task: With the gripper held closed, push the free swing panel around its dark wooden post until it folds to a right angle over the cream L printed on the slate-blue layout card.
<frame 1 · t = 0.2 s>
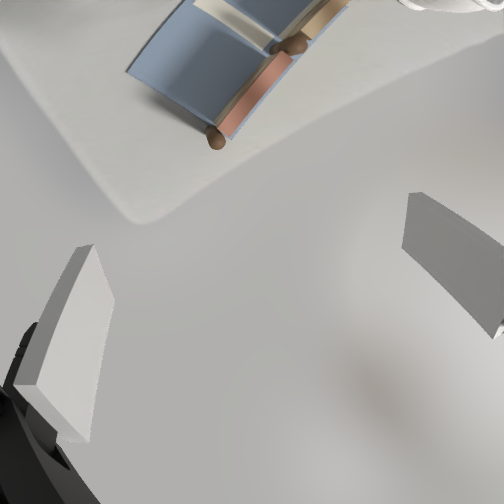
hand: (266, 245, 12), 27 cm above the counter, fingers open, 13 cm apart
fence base: (277, 51, 31), resting on layout card
swing panel: (244, 98, 30), point 4 cm above the counter, hinge at 0.0°
layout card: (277, 51, 31), on the counter
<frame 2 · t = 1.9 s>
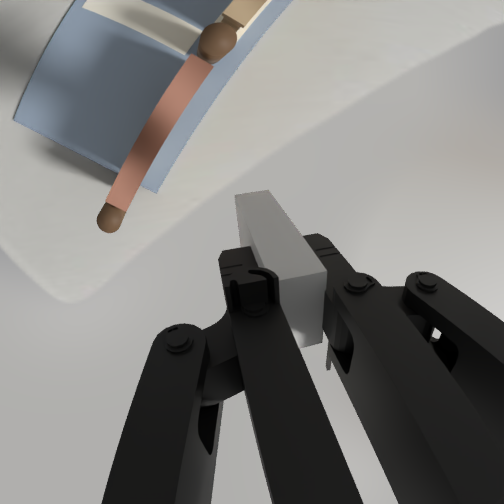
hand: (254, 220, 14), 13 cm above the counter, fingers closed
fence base: (209, 52, 20), resting on layout card
swing panel: (152, 138, 19), point 4 cm above the counter, hinge at 0.0°
layout card: (209, 52, 20), on the counter
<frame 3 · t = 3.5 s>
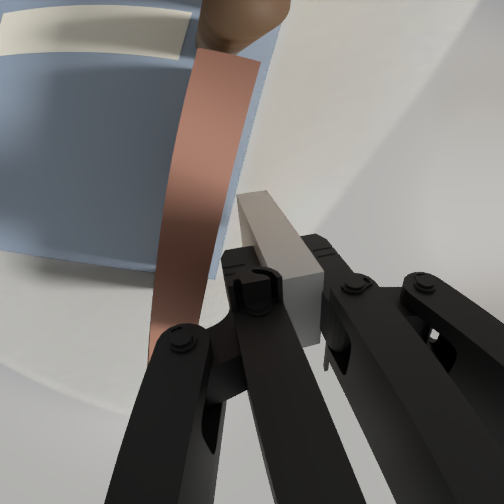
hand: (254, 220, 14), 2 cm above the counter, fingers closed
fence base: (217, 42, 12), resting on layout card
swing panel: (181, 226, 11), point 4 cm above the counter, hinge at -0.1°, touching gripper
layout card: (217, 42, 12), on the counter
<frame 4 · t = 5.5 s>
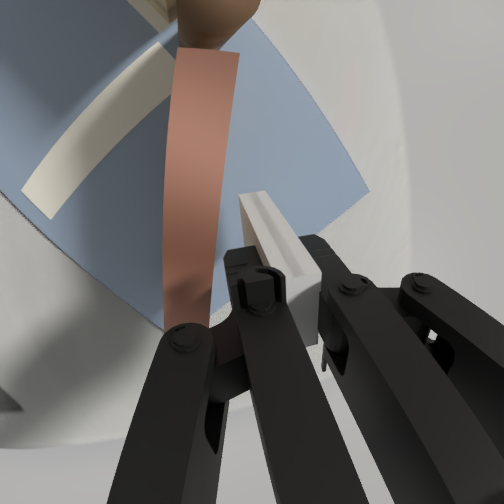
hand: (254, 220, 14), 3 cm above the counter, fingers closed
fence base: (200, 40, 12), resting on layout card
swing panel: (185, 220, 12), point 4 cm above the counter, hinge at -45.7°, touching gripper
layout card: (200, 40, 12), on the counter
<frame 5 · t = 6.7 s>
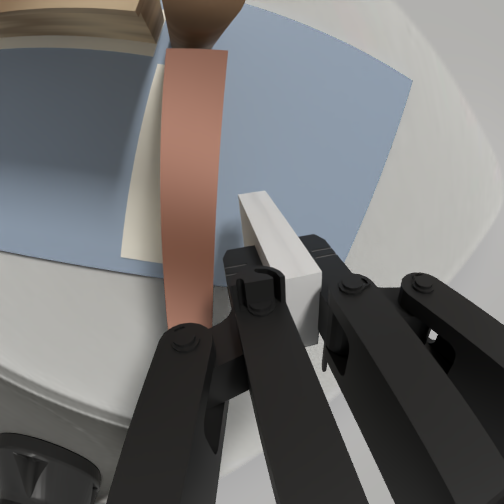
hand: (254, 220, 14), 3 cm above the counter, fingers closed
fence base: (192, 40, 12), resting on layout card
swing panel: (185, 219, 12), point 4 cm above the counter, hinge at -78.6°, touching gripper
layout card: (192, 40, 12), on the counter
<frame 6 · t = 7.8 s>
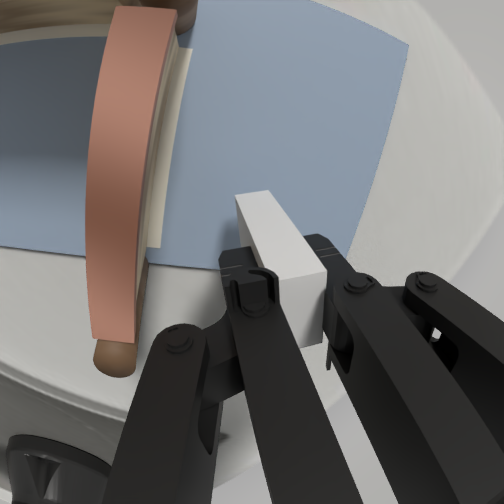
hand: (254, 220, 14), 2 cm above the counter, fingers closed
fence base: (174, 18, 11), resting on layout card
swing panel: (129, 193, 11), point 4 cm above the counter, hinge at -90.6°
layout card: (174, 18, 11), on the counter
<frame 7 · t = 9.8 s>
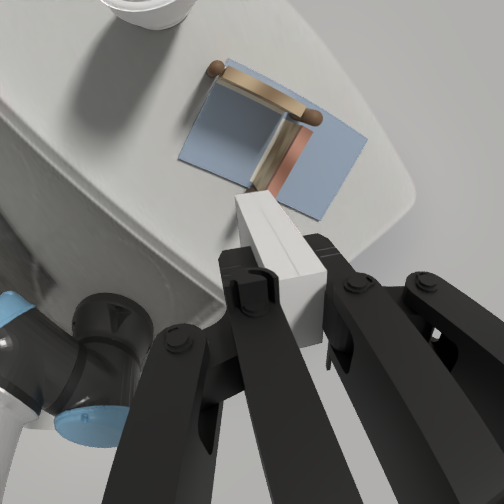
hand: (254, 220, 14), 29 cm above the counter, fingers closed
jar: (161, 2, 29), on the counter
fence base: (294, 112, 40), resting on layout card
swing panel: (276, 164, 39), point 4 cm above the counter, hinge at -90.6°
layout card: (294, 112, 40), on the counter
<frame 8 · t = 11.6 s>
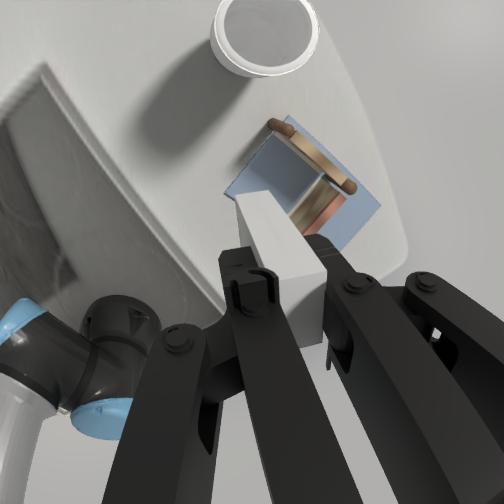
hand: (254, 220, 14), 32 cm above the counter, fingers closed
jar: (243, 45, 37), on the counter
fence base: (330, 173, 48), resting on layout card
swing panel: (308, 217, 47), point 4 cm above the counter, hinge at -90.6°
layout card: (330, 173, 48), on the counter
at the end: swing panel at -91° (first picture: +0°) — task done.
